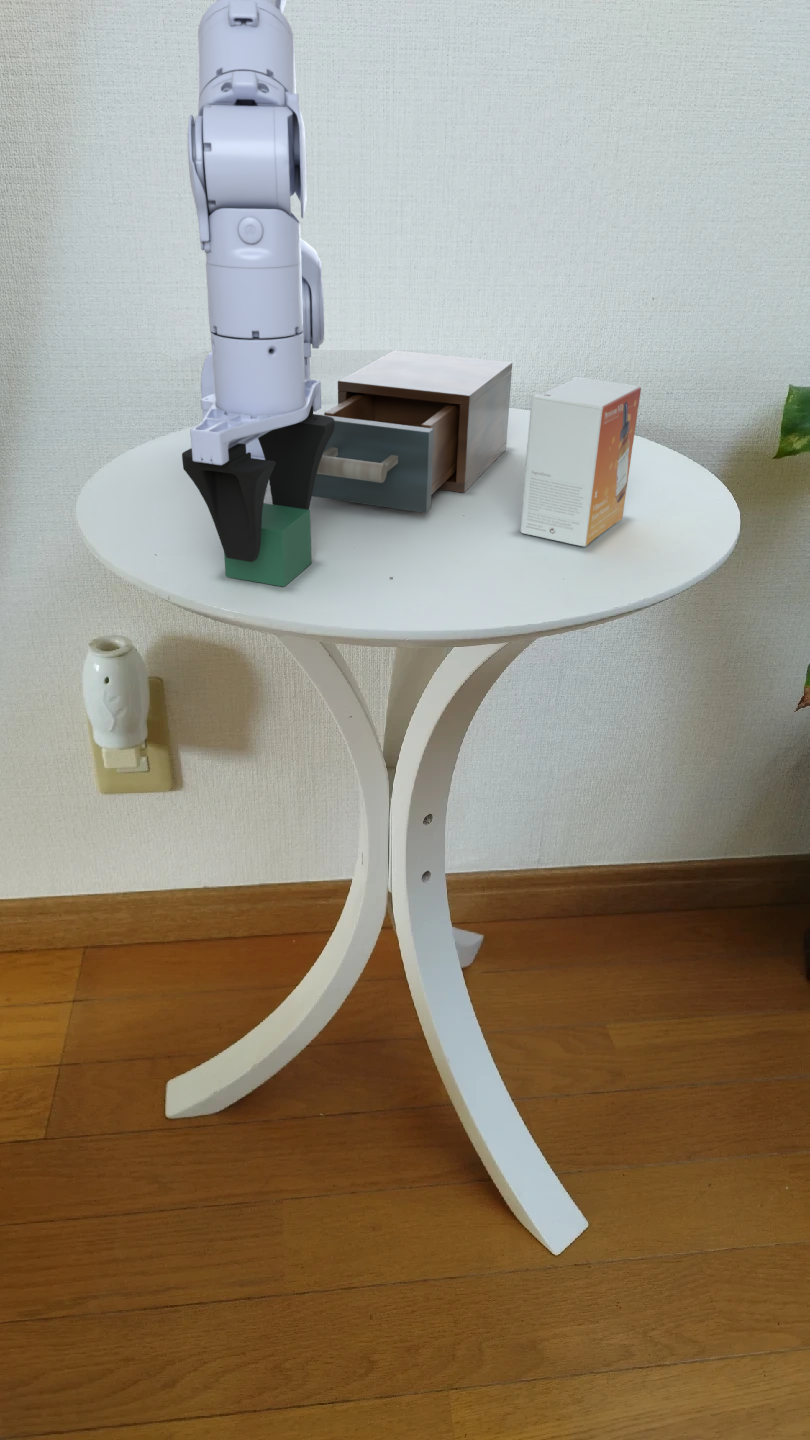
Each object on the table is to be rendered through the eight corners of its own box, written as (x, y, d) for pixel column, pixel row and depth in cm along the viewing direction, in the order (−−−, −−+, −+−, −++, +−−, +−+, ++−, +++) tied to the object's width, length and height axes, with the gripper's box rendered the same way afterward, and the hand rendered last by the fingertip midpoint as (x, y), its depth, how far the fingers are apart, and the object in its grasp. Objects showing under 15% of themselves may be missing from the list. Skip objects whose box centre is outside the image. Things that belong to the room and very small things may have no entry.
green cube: (225, 576, 70) (221, 521, 68) (255, 554, 74) (252, 500, 72) (284, 587, 69) (282, 531, 67) (312, 563, 72) (310, 509, 70)
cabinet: (464, 493, 86) (469, 395, 82) (338, 475, 89) (337, 380, 85) (506, 449, 97) (512, 362, 93) (392, 435, 100) (394, 350, 96)
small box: (585, 550, 76) (602, 407, 70) (517, 534, 78) (529, 394, 73) (624, 519, 82) (644, 384, 76) (561, 505, 84) (575, 374, 79)
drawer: (407, 531, 76) (409, 448, 72) (281, 512, 79) (277, 431, 75) (472, 467, 89) (476, 394, 86) (362, 453, 92) (362, 381, 89)
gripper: (253, 307, 70) (263, 498, 77) (136, 346, 58) (160, 567, 65) (347, 316, 68) (349, 511, 75) (246, 358, 56) (259, 584, 63)
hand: (267, 538), depth 70 cm, fingers open, 7 cm apart
